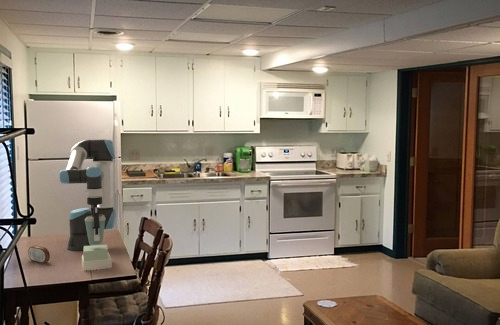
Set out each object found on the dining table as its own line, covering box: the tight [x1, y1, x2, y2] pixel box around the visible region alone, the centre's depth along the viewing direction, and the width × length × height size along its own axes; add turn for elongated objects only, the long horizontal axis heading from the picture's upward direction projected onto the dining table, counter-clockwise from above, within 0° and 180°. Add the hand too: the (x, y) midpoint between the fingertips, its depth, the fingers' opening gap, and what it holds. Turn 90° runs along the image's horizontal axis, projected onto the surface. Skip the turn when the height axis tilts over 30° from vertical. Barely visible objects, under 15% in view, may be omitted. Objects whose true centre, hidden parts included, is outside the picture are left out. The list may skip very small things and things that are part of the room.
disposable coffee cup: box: [85, 215, 106, 245], centre depth 269 cm, size 11×11×15 cm
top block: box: [82, 244, 109, 261], centre depth 270 cm, size 12×12×5 cm
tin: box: [27, 244, 51, 264], centre depth 278 cm, size 15×3×8 cm, turn 59°
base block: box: [81, 252, 113, 272], centre depth 270 cm, size 14×14×5 cm
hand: (95, 238), depth 269 cm, fingers closed on disposable coffee cup, 11 cm apart
